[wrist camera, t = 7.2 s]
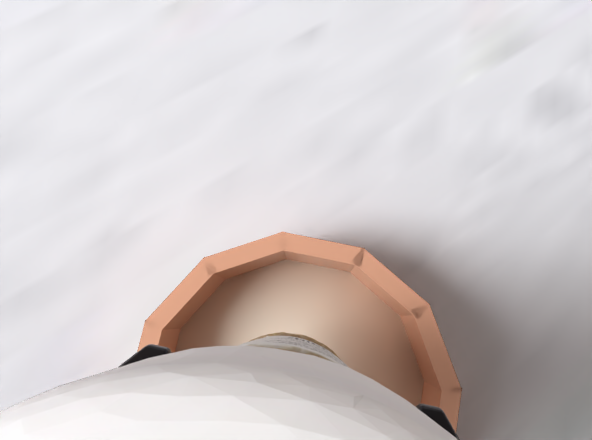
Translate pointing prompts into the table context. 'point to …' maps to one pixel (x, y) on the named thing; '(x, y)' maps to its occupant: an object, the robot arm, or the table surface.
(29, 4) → the table surface
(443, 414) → the robot arm
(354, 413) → the sprinkles bottle
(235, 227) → the table surface
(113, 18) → the table surface
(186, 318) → the terracotta bowl
